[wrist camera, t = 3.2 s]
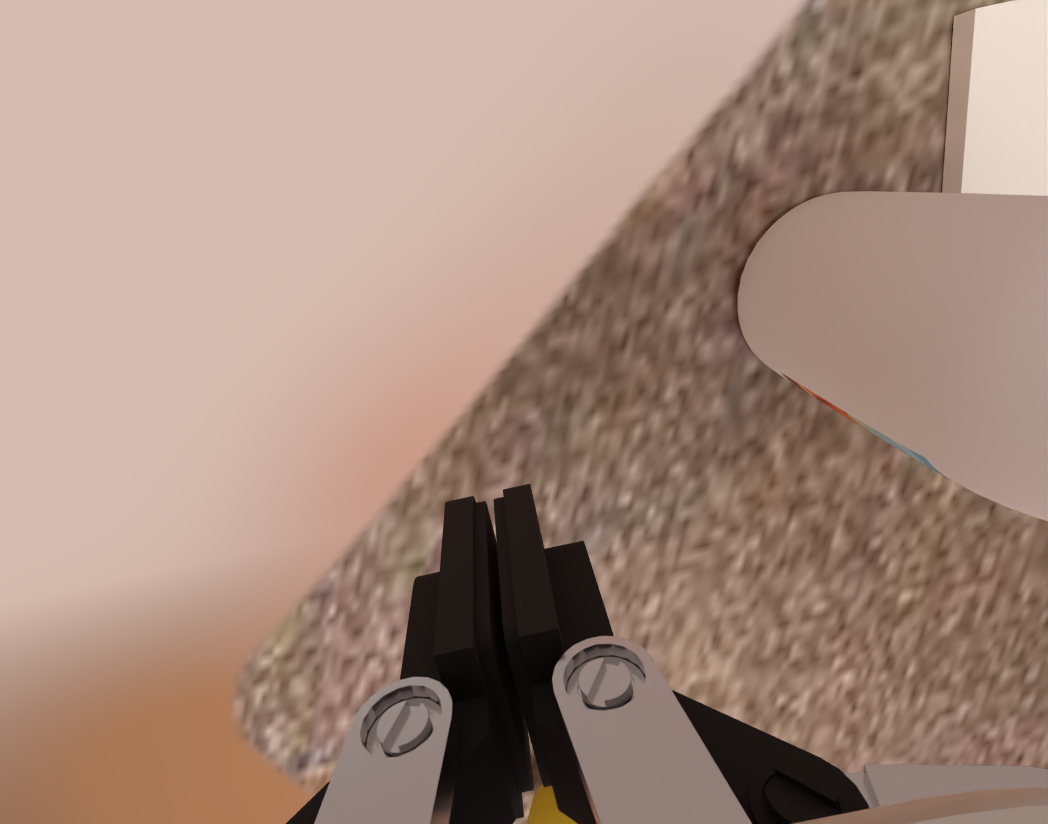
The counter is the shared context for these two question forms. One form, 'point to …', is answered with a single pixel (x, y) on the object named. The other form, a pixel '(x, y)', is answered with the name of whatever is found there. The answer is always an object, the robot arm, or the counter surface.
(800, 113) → the counter surface
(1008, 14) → the cutting board
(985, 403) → the milk bottle
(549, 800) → the lemon
